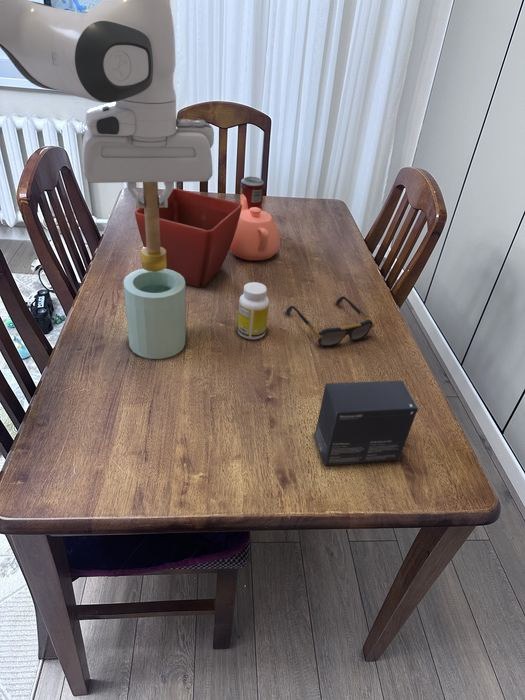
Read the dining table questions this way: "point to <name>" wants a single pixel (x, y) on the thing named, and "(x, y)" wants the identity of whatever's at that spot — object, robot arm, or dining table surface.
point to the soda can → (252, 191)
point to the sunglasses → (339, 328)
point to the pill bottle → (253, 311)
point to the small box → (364, 422)
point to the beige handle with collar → (152, 231)
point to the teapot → (255, 234)
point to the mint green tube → (155, 312)
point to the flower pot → (194, 233)
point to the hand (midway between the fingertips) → (151, 206)
